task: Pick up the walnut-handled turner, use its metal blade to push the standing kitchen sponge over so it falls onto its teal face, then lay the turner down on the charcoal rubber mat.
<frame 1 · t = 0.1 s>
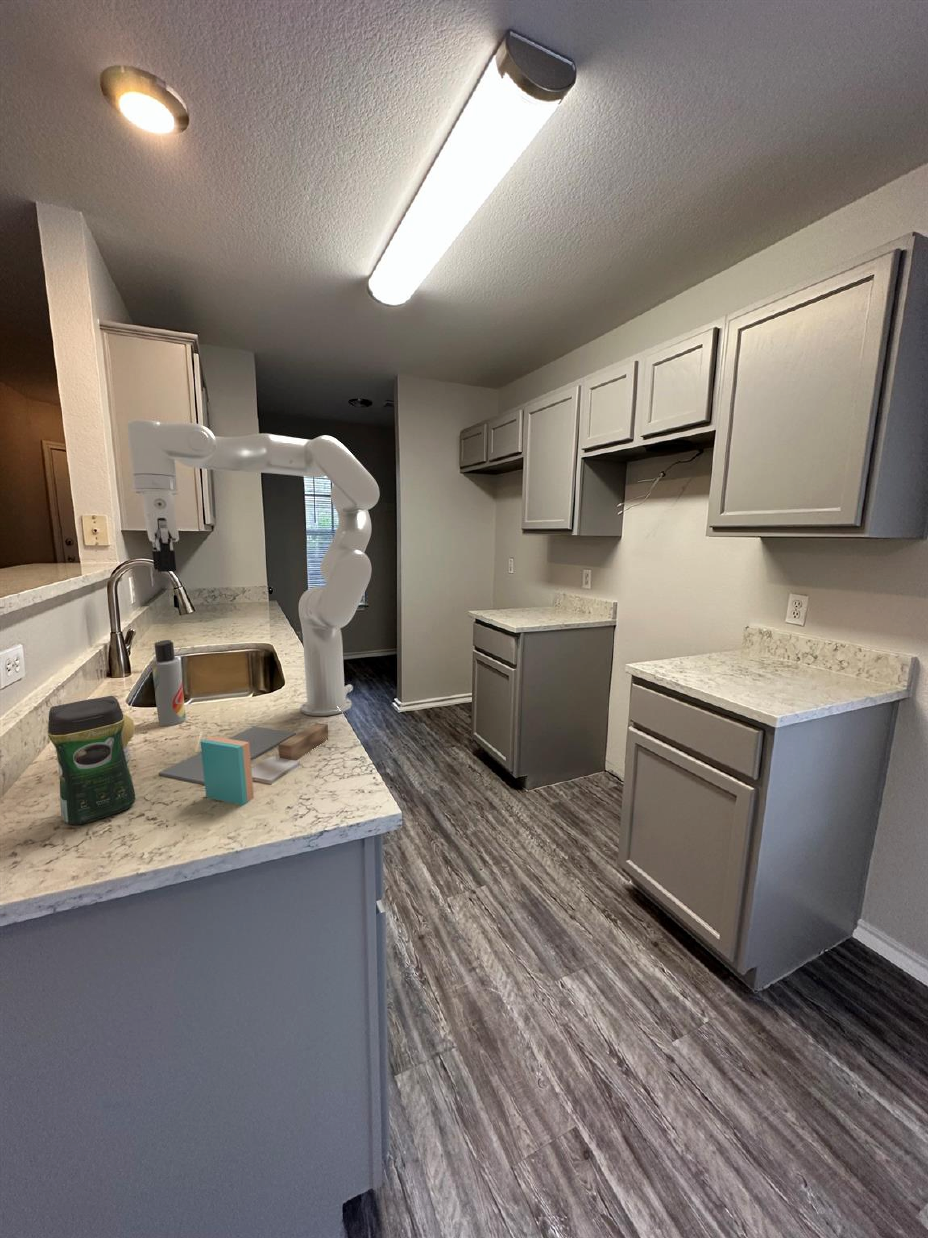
hand: (164, 570, 101), 37 cm above the counter, tool pointing down, fingers open, 9 cm apart
turner: (292, 758, 97), on the counter
coffee jar: (100, 811, 79), on the counter
mat: (234, 753, 100), on the counter
kitchen sponge: (229, 797, 82), on the counter
light bulb: (119, 764, 95), on the counter
lotion bottle: (172, 722, 117), on the counter
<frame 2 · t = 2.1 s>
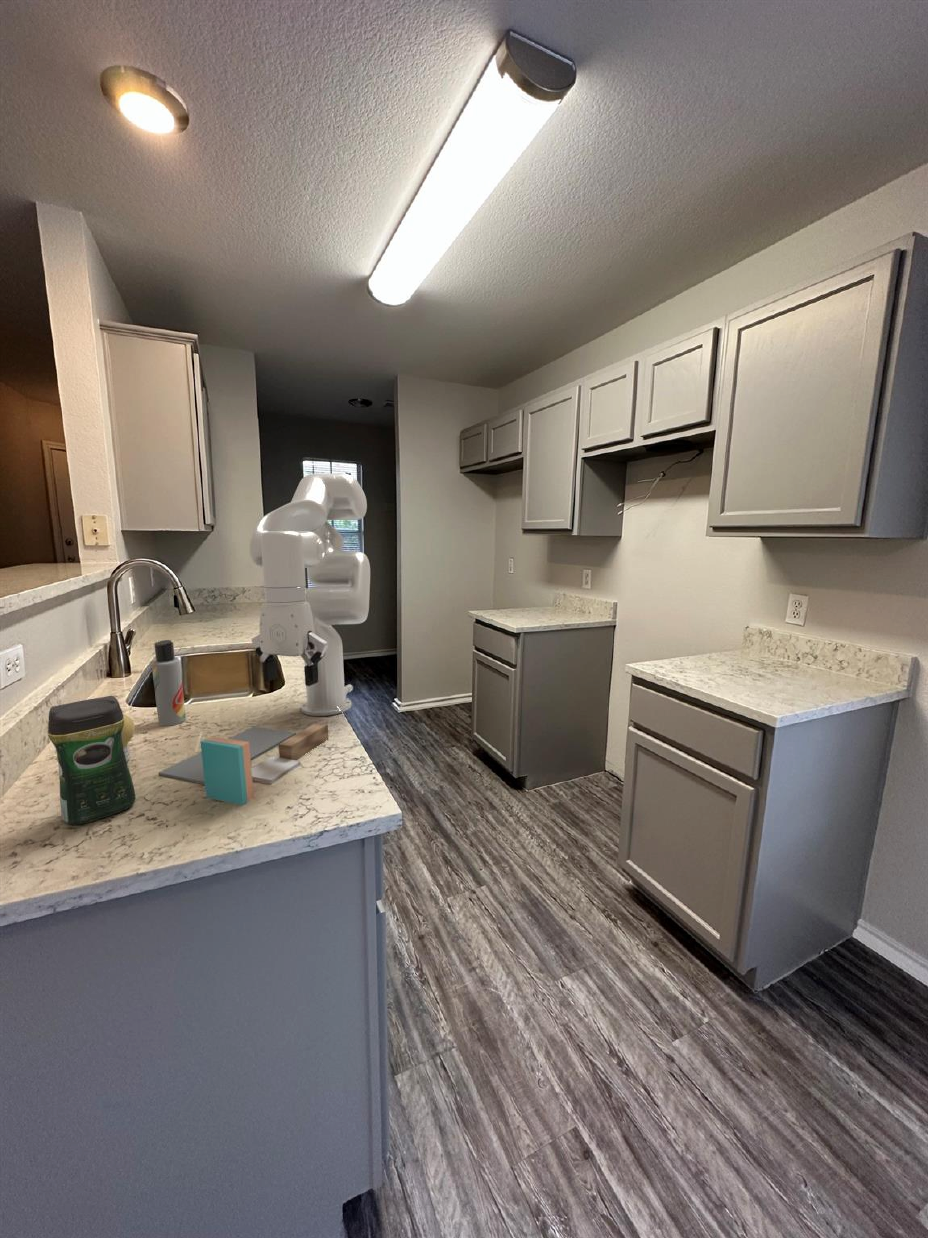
hand: (291, 682, 96), 15 cm above the counter, tool pointing down, fingers open, 9 cm apart
nothing on the counter moved.
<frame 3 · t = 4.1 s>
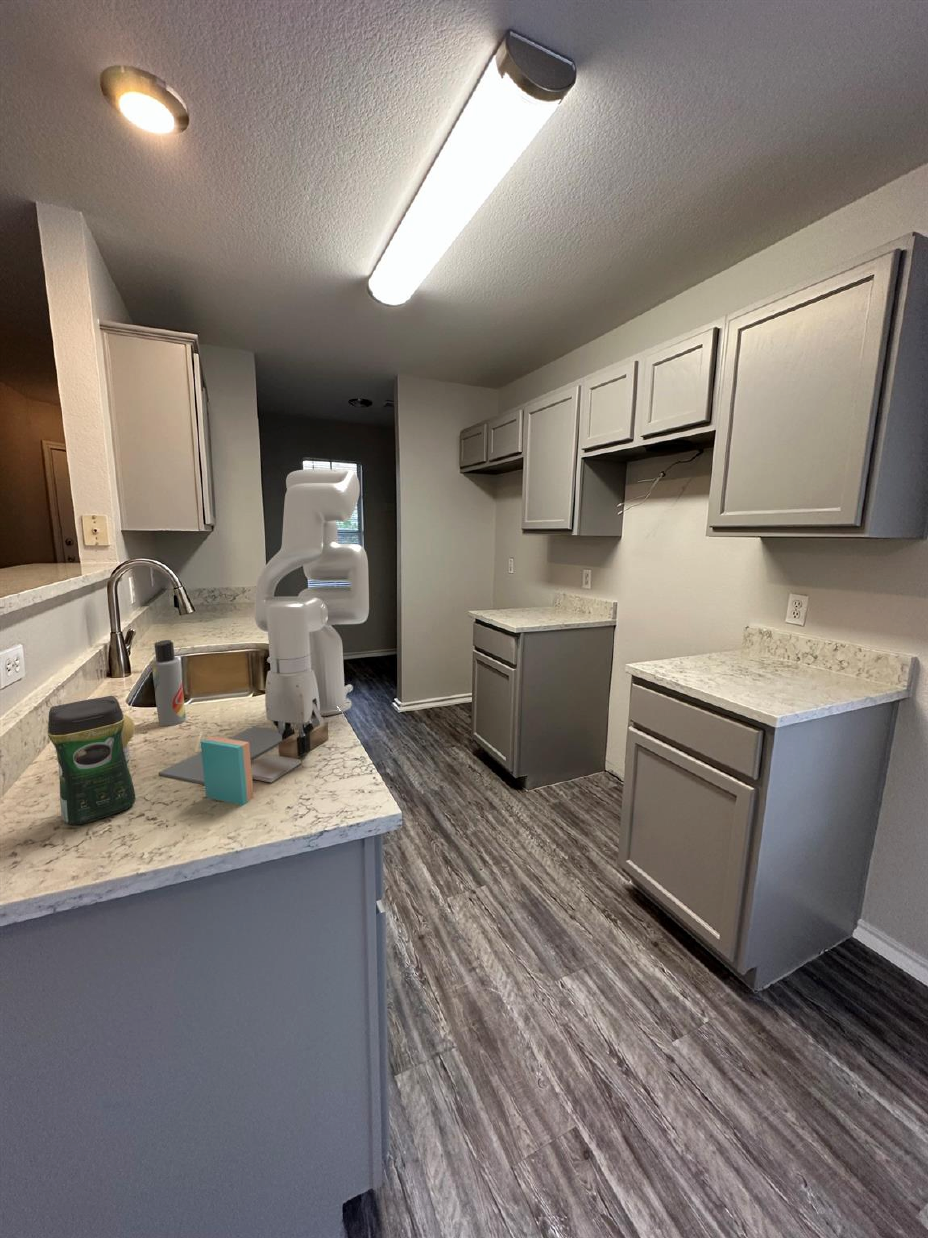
hand: (296, 751, 98), 1 cm above the counter, tool pointing down, fingers closed on turner, 2 cm apart
turner: (292, 756, 97), on the counter, touching gripper
everything else where it was.
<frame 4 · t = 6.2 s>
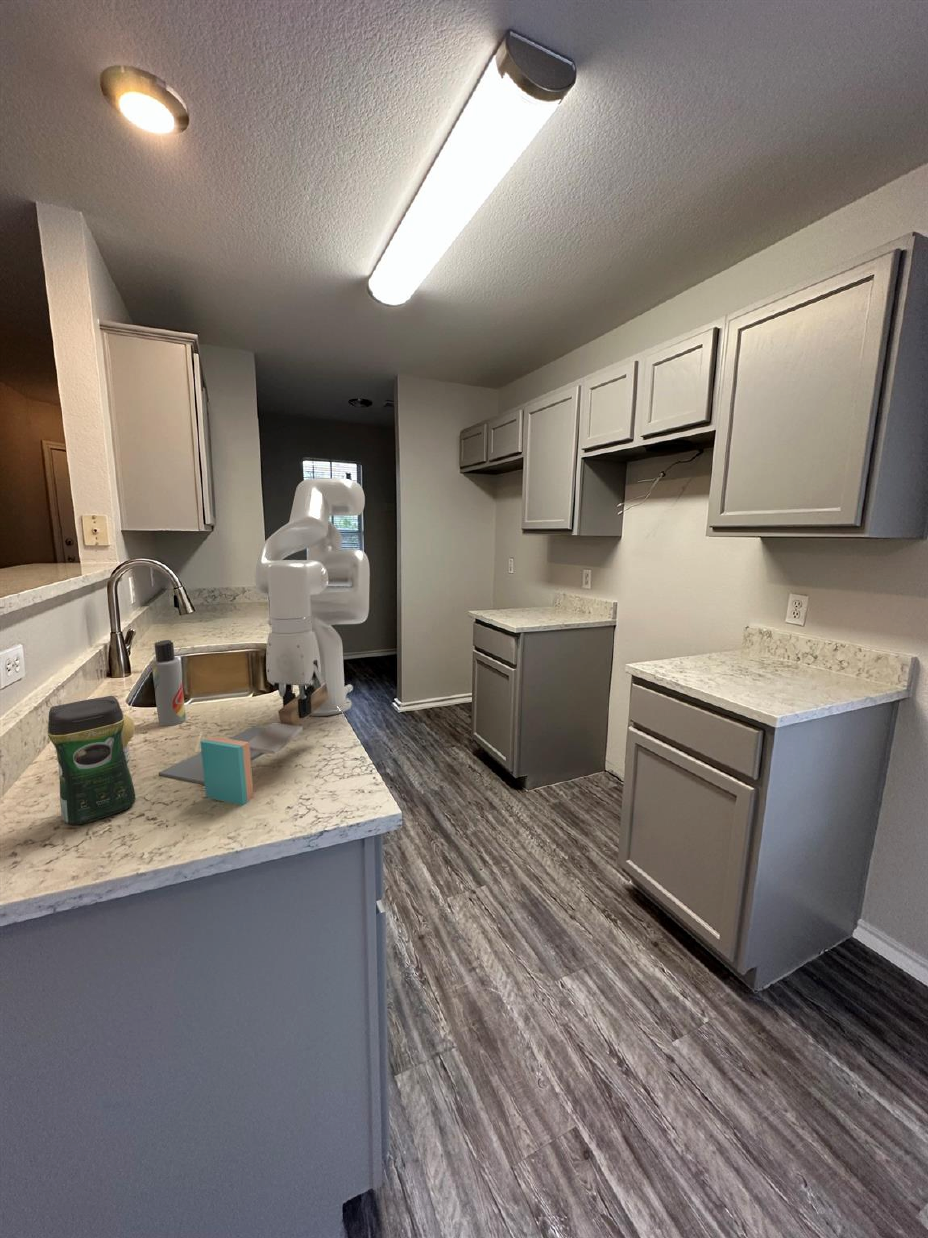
hand: (297, 714, 98), 8 cm above the counter, tool pointing down, fingers closed on turner, 3 cm apart
turner: (294, 722, 97), point 7 cm above the counter, tilted 12°, touching gripper
everything else where it was.
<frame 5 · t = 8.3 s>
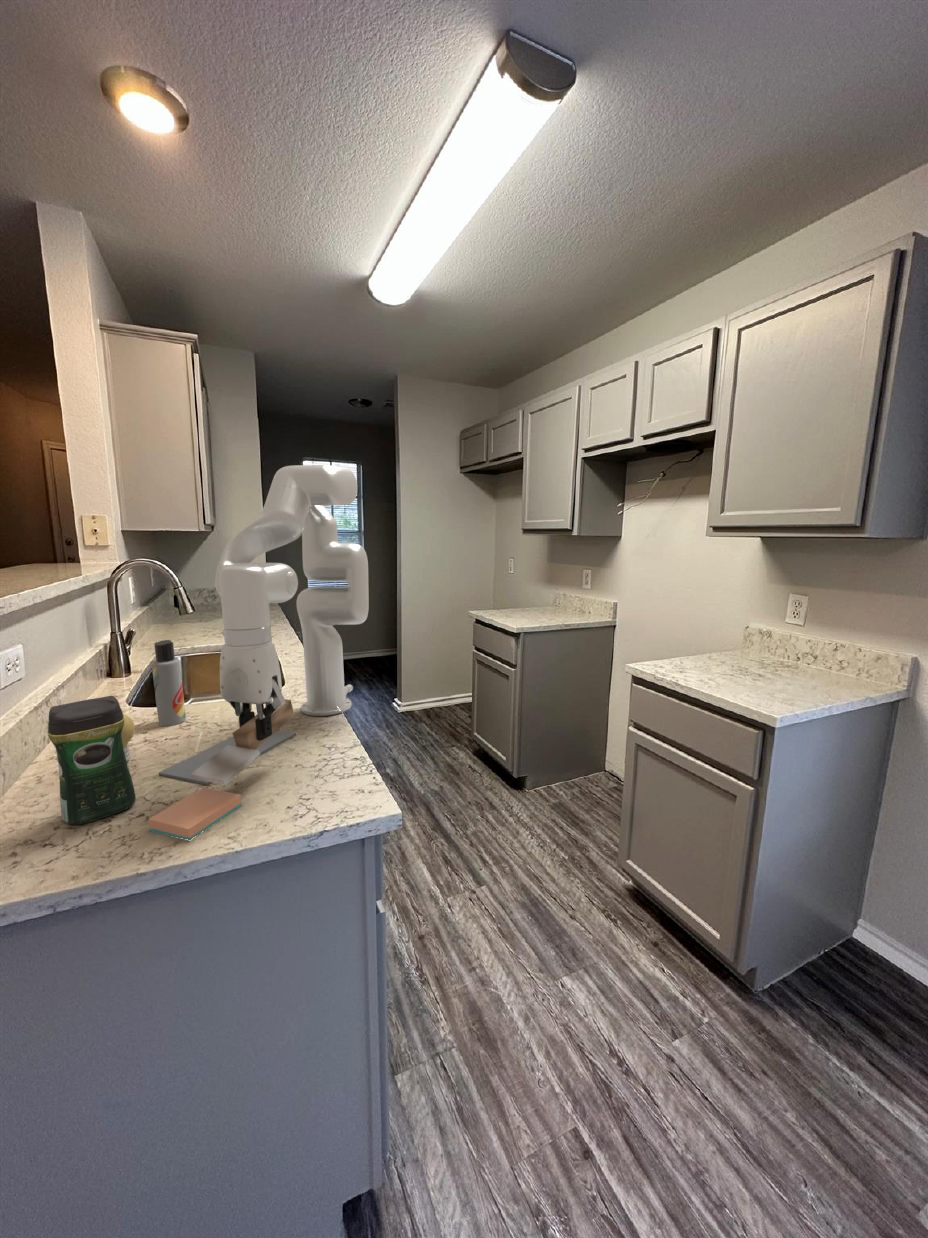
hand: (256, 735, 87), 8 cm above the counter, tool pointing down, fingers closed on turner, 3 cm apart
turner: (252, 745, 87), point 7 cm above the counter, tilted 12°, touching gripper
kitchen sponge: (222, 797, 81), point 1 cm above the counter, tilted 90°
everything else where it was.
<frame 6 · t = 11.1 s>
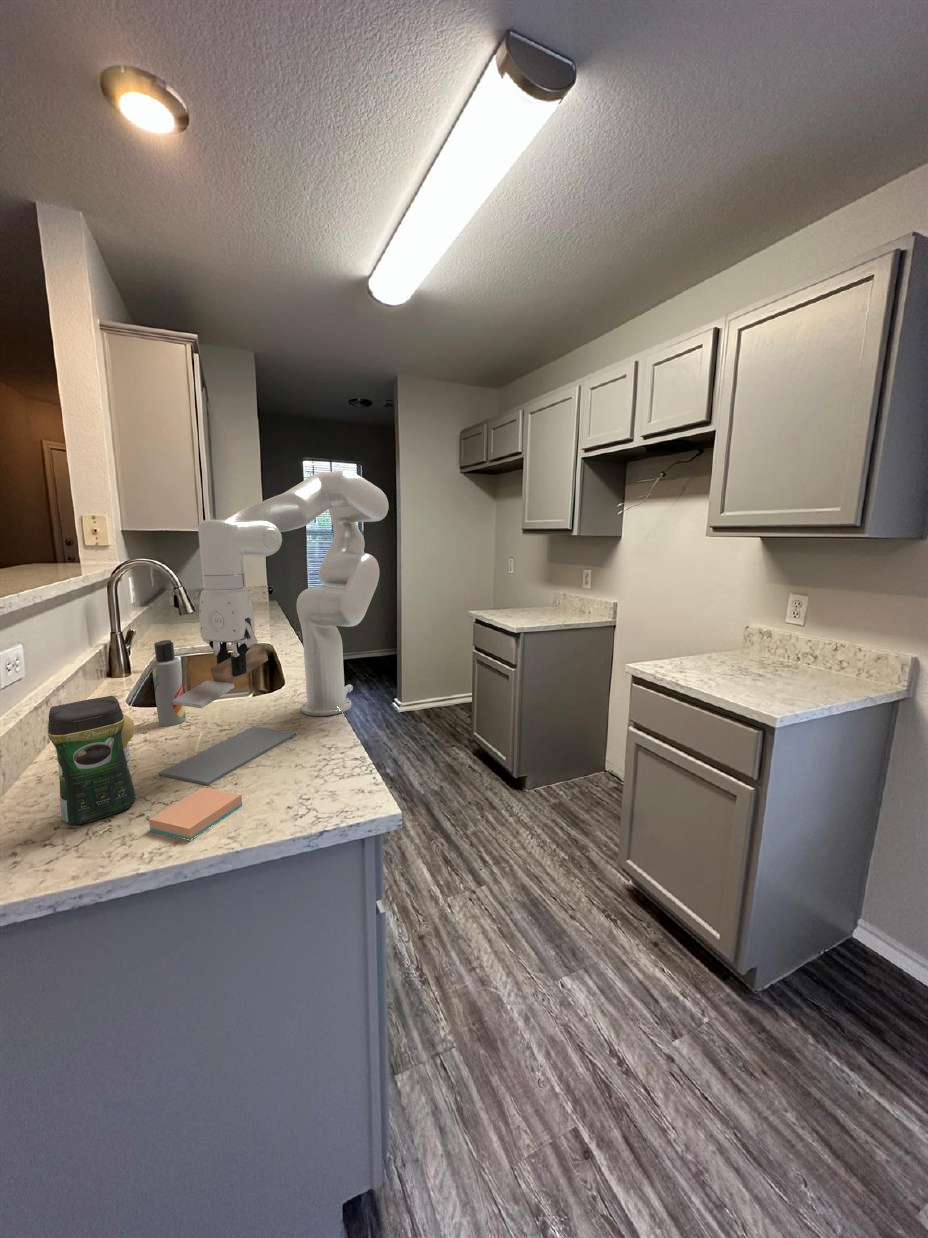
hand: (232, 673, 98), 17 cm above the counter, tool pointing down, fingers closed on turner, 3 cm apart
turner: (228, 680, 97), point 15 cm above the counter, tilted 12°, touching gripper
everything else where it was.
when the fingers open (3 cm above the counter, at t = 13.8 s): turner drops 1 cm, resting on mat.
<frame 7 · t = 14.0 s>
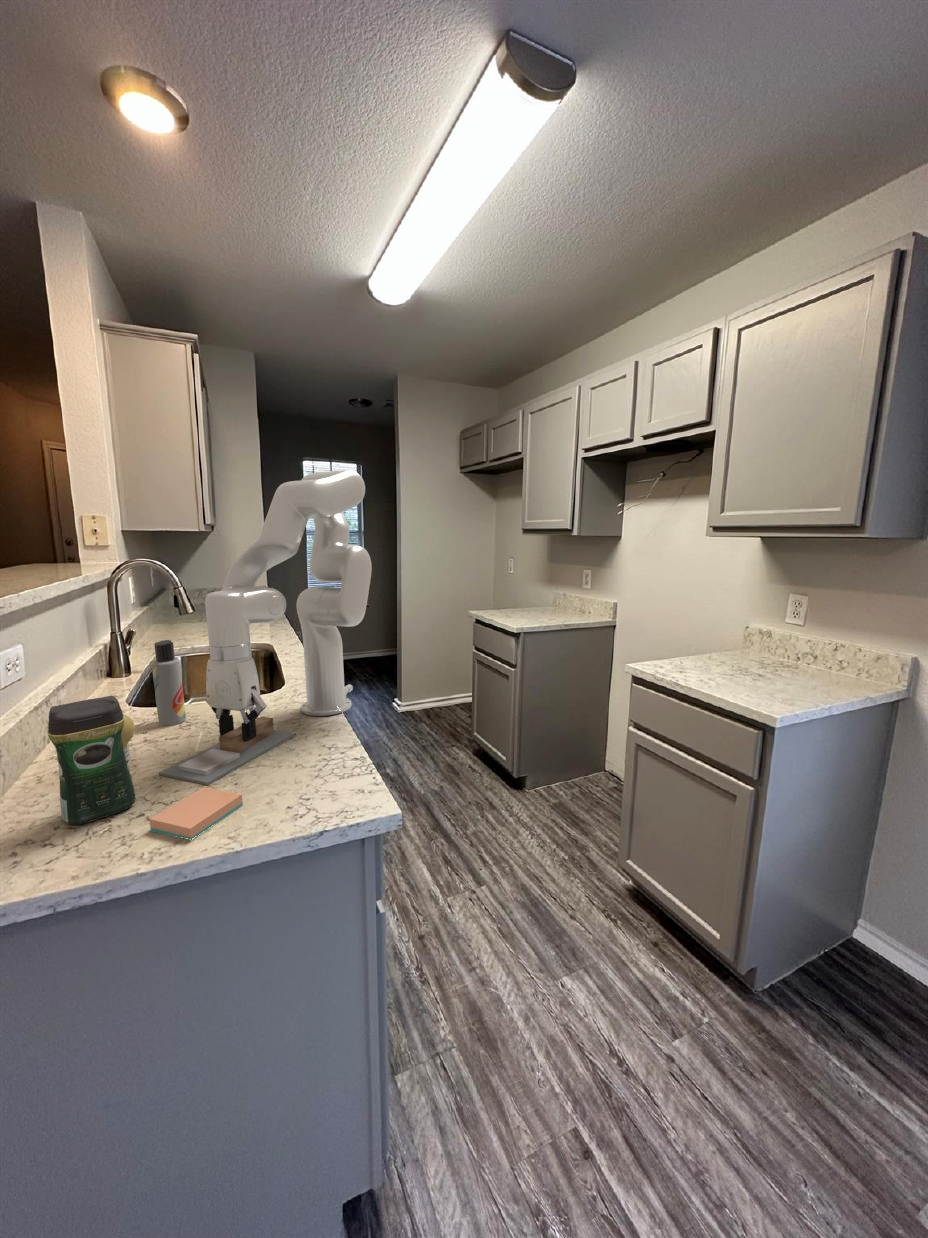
hand: (238, 736, 100), 3 cm above the counter, tool pointing down, fingers open, 5 cm apart
turner: (233, 750, 100), resting on mat
everything else where it was.
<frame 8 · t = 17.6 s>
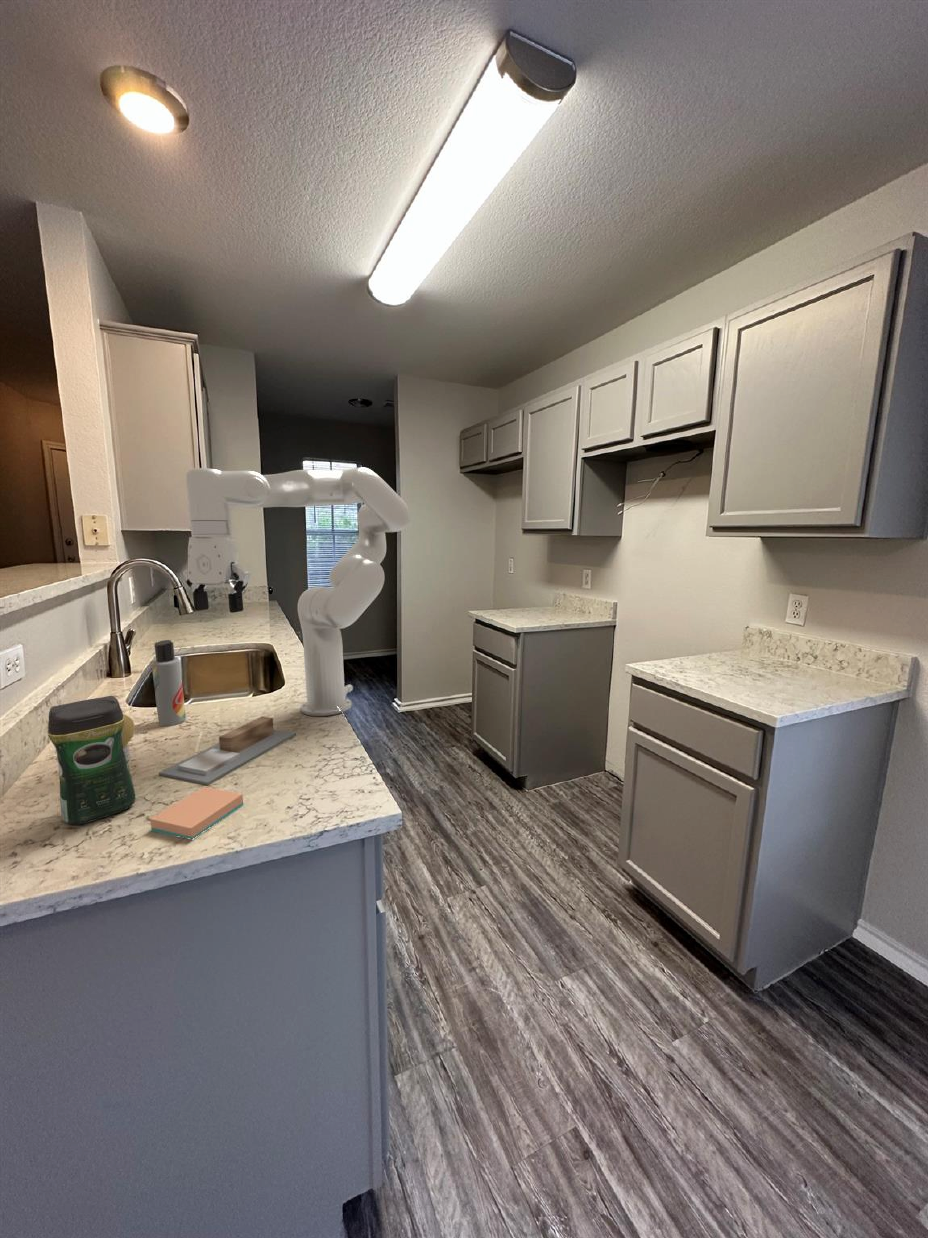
hand: (219, 610, 104), 28 cm above the counter, tool pointing down, fingers open, 9 cm apart
nothing on the counter moved.
at the end: kitchen sponge tilted 90°; turner inside the target area on the mat (0.0 cm from its centre), point 0.5 cm above the mat's base; the gripper is holding nothing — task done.
